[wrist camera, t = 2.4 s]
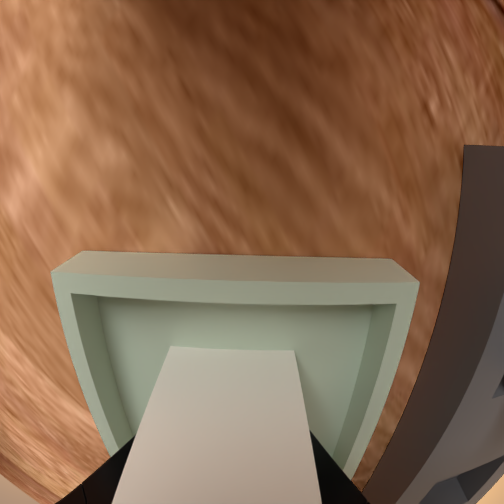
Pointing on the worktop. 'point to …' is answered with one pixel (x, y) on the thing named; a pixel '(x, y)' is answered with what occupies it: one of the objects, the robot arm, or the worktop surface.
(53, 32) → the worktop surface
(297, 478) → the iec plug
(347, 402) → the tray
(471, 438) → the strip
